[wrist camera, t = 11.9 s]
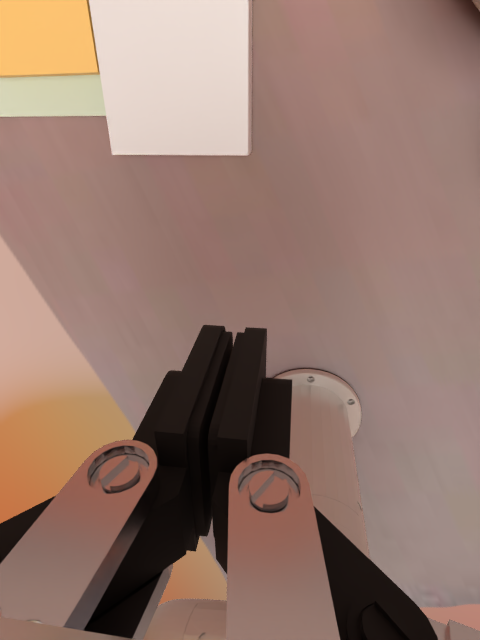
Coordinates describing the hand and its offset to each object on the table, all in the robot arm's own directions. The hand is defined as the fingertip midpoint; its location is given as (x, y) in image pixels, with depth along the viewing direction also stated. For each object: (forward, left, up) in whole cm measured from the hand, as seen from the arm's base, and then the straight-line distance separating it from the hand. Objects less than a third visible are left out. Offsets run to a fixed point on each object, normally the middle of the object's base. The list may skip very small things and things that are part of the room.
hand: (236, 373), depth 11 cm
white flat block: (+13, +9, -29) cm, 33 cm away
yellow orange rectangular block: (+13, +20, -29) cm, 37 cm away
